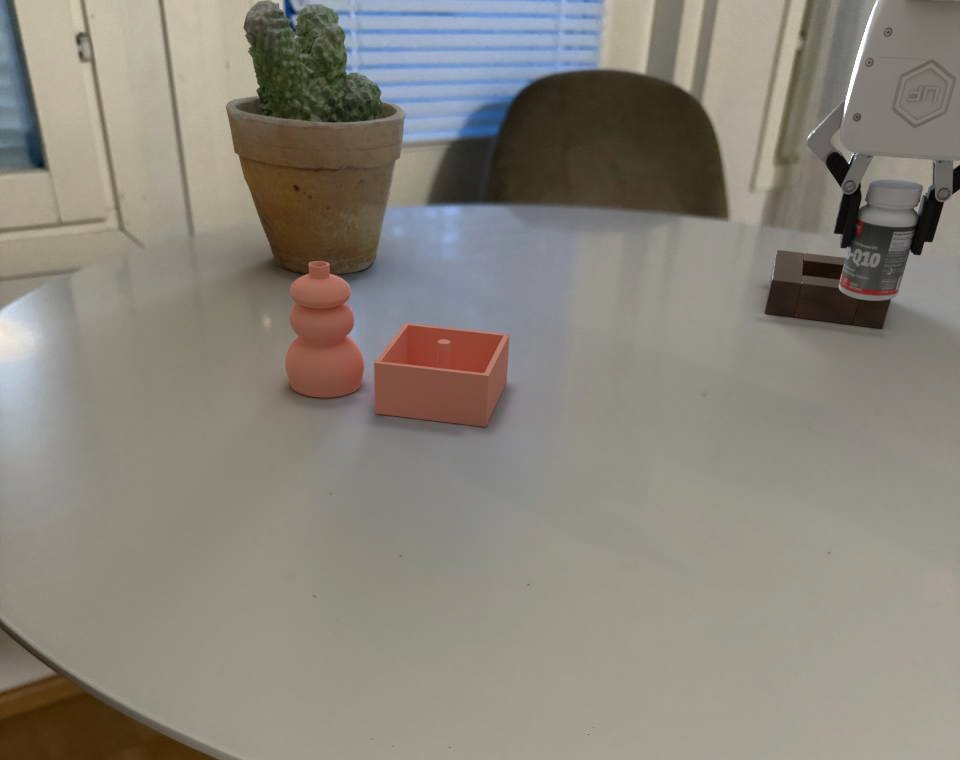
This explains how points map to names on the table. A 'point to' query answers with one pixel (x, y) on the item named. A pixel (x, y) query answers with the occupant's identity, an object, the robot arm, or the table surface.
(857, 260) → the pill bottle
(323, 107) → the potted plant
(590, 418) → the table surface
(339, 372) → the pottery
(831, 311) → the holder
